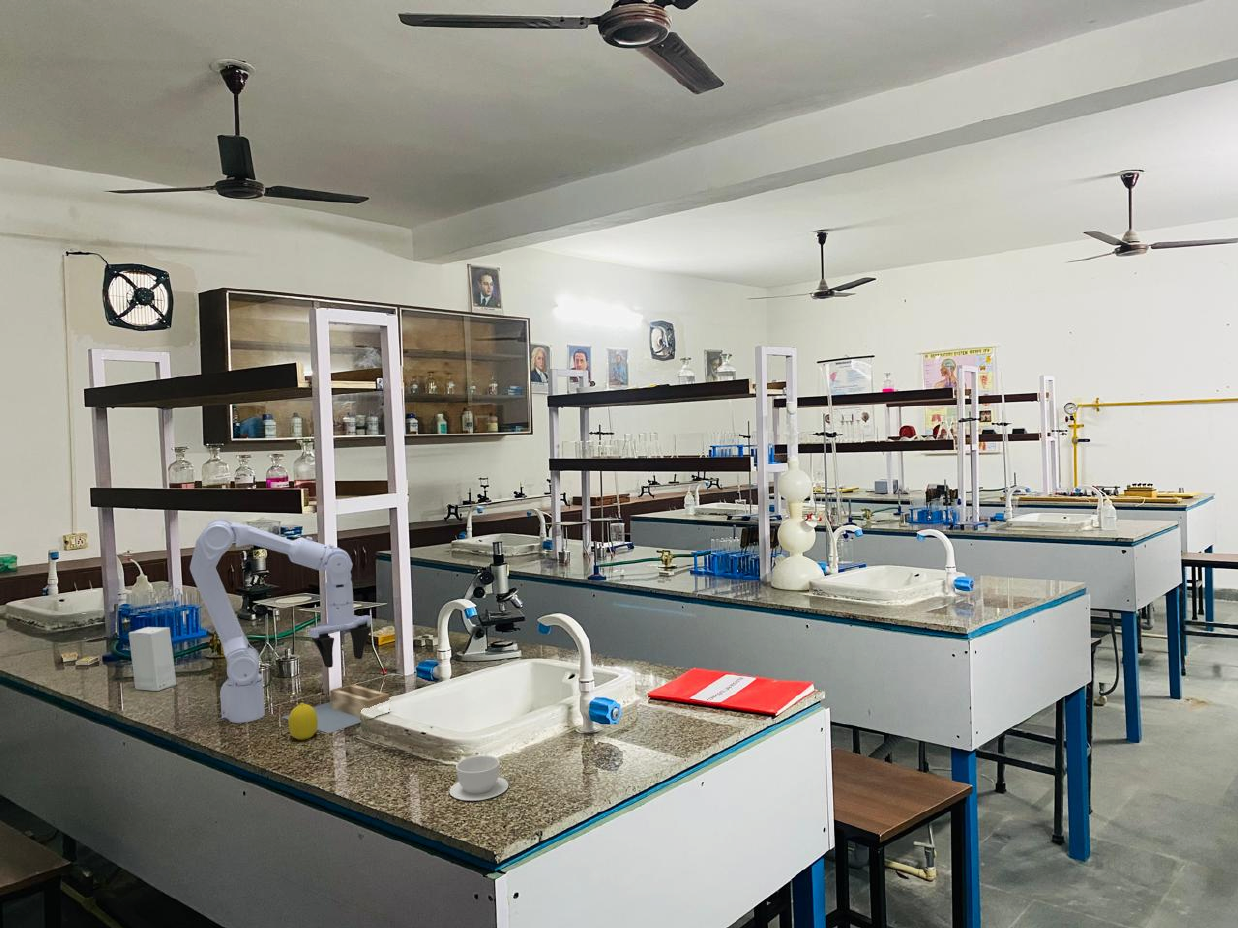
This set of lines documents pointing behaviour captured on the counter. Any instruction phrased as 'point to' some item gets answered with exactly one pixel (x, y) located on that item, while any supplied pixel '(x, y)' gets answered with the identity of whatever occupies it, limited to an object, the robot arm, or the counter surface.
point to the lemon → (303, 721)
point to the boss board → (332, 718)
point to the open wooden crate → (355, 699)
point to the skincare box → (152, 658)
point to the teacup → (478, 779)
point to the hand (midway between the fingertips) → (343, 662)
